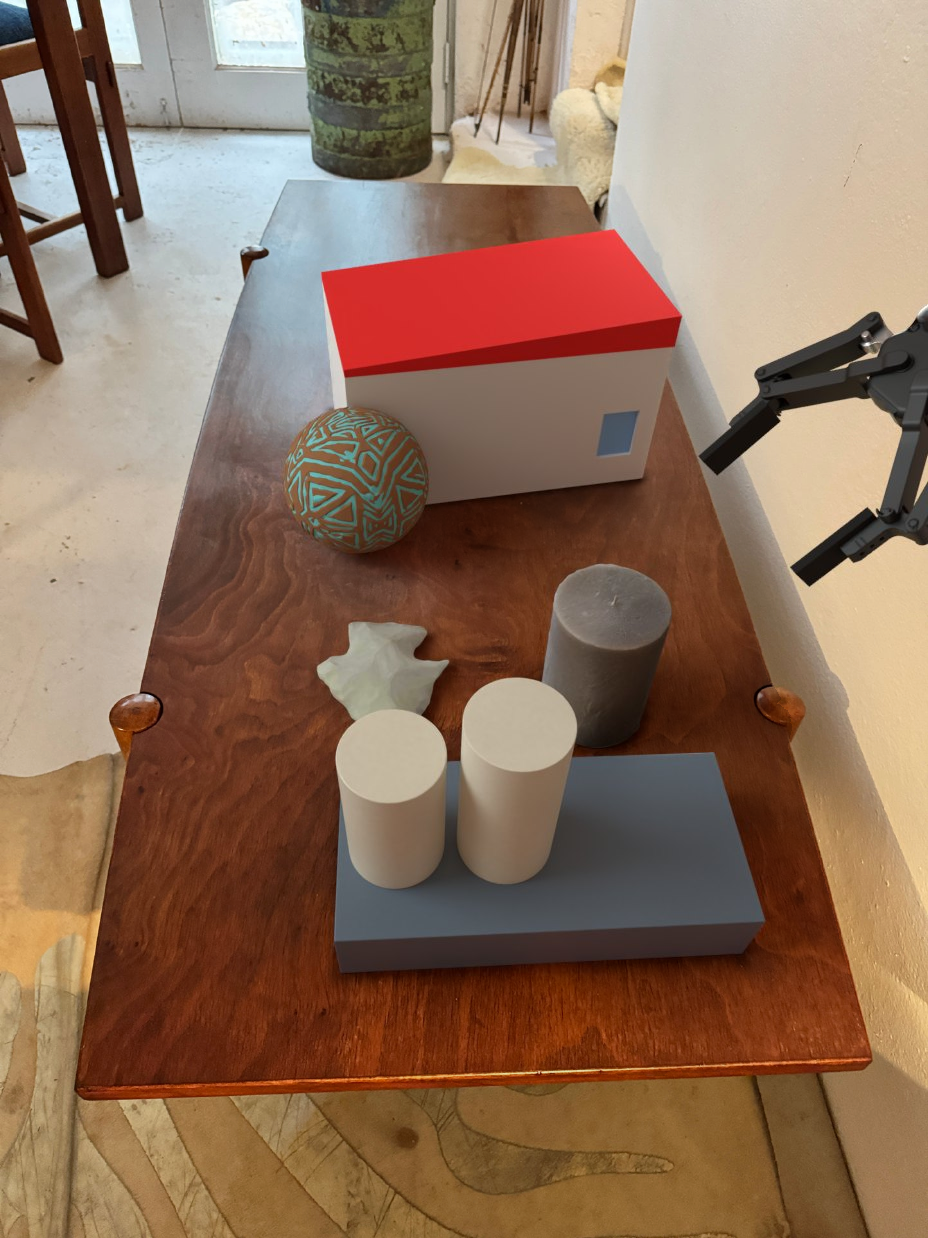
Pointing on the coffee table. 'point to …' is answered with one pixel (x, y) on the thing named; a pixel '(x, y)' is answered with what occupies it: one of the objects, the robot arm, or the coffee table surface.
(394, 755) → the short ivory candle
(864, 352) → the robot arm
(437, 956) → the plinth
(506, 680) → the tall ivory candle
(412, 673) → the arrowhead
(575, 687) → the pillar candle
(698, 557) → the coffee table surface
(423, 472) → the decorative sphere
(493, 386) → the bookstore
